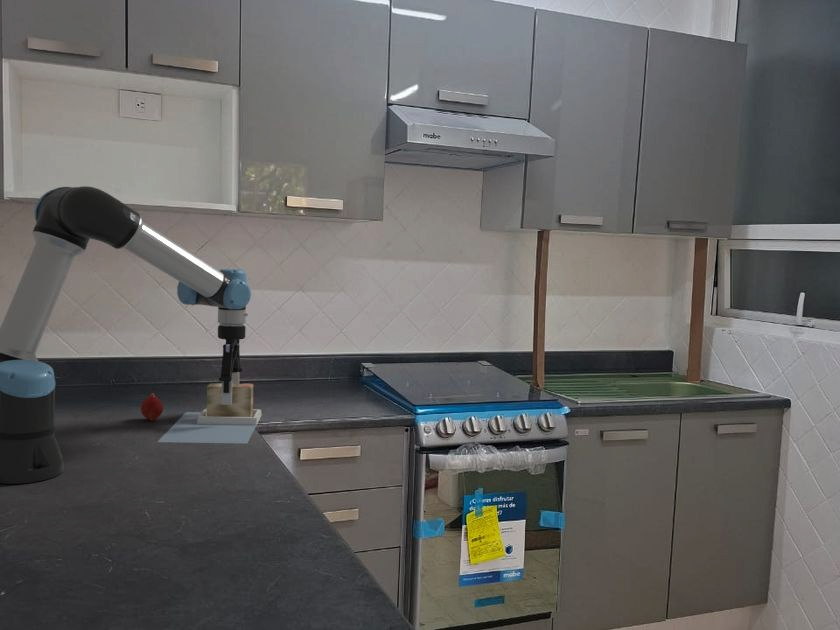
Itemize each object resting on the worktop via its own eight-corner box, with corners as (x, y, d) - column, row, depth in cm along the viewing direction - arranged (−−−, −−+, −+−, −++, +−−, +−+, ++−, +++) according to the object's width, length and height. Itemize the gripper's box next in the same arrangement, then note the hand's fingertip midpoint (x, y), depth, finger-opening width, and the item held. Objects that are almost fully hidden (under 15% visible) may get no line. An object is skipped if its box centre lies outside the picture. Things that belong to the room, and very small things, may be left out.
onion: (136, 421, 209) (136, 393, 209) (152, 418, 214) (152, 390, 214) (151, 424, 207) (151, 396, 206) (167, 421, 212) (167, 392, 211)
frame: (256, 425, 210) (256, 418, 210) (197, 424, 208) (197, 417, 208) (261, 416, 221) (261, 409, 221) (204, 415, 219) (204, 408, 219)
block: (206, 421, 211) (207, 385, 210) (209, 417, 216) (210, 382, 215) (250, 422, 212) (251, 386, 211) (252, 418, 217) (253, 383, 216)
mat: (247, 444, 190) (247, 443, 190) (157, 443, 188) (157, 442, 188) (262, 414, 224) (262, 413, 224) (186, 413, 222) (186, 412, 222)
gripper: (239, 329, 200) (237, 409, 202) (251, 320, 225) (249, 391, 227) (210, 329, 199) (208, 408, 201) (225, 319, 224) (224, 390, 226)
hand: (230, 399), depth 214 cm, fingers open, 13 cm apart
